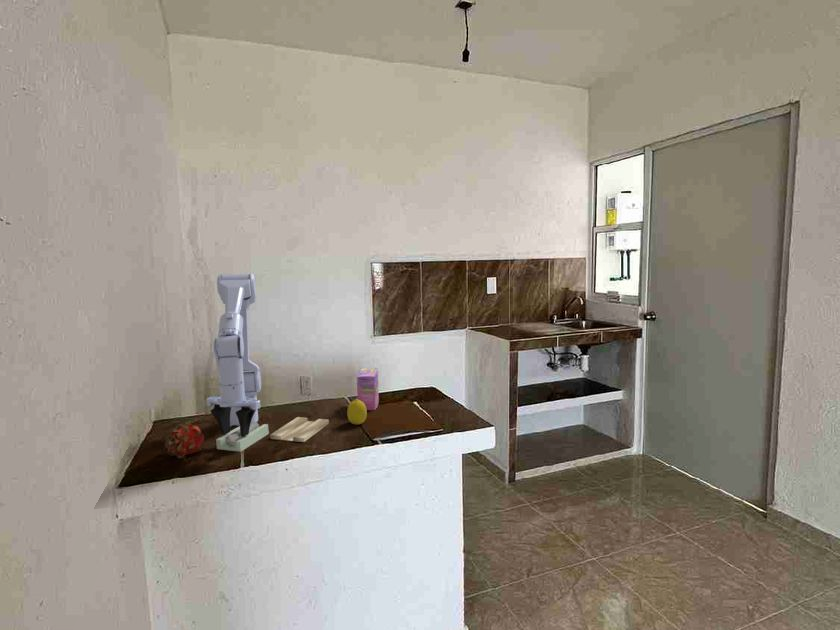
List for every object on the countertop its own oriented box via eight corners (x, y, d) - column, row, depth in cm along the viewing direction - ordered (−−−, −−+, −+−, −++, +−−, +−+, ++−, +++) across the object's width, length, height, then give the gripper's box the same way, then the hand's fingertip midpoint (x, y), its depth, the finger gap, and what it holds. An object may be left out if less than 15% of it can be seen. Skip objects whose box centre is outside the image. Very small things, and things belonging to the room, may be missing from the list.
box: (376, 413, 146) (374, 375, 144) (357, 413, 146) (356, 376, 145) (379, 402, 156) (378, 367, 155) (362, 402, 156) (360, 368, 155)
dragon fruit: (173, 473, 112) (190, 458, 123) (203, 449, 113) (217, 437, 124) (149, 445, 111) (169, 433, 123) (180, 422, 112) (196, 412, 124)
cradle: (217, 452, 119) (216, 439, 118) (246, 434, 130) (245, 422, 130) (241, 455, 117) (240, 441, 116) (268, 436, 128) (268, 424, 128)
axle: (236, 447, 118) (234, 435, 118) (226, 446, 119) (224, 435, 119) (259, 432, 128) (258, 421, 127) (250, 431, 128) (249, 421, 128)
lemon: (363, 430, 132) (362, 402, 131) (345, 429, 133) (343, 401, 132) (369, 423, 137) (368, 396, 136) (351, 422, 138) (350, 395, 137)
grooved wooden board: (270, 442, 125) (270, 434, 125) (298, 423, 138) (297, 416, 138) (304, 445, 122) (304, 438, 122) (329, 426, 135) (328, 419, 135)
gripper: (196, 385, 117) (200, 437, 118) (246, 388, 113) (250, 443, 114) (215, 377, 123) (219, 427, 125) (264, 381, 119) (267, 432, 121)
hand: (235, 434), depth 120 cm, fingers open, 5 cm apart
